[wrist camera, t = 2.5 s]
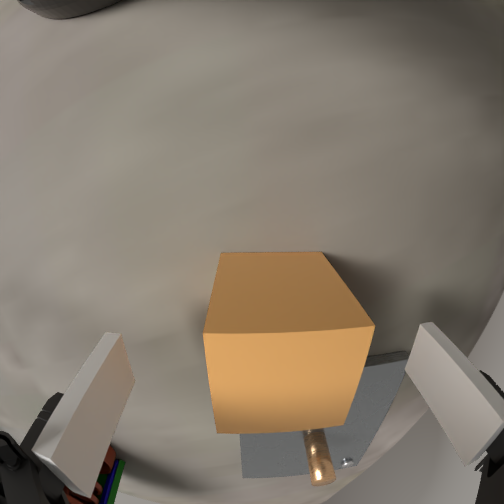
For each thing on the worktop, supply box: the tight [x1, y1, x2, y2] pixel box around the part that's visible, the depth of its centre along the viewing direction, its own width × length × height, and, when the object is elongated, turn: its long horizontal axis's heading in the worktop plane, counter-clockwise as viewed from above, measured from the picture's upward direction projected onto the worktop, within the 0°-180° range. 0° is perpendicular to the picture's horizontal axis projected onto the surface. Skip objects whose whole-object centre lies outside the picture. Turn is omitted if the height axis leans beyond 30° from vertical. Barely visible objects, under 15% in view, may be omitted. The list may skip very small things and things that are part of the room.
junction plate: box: [240, 351, 409, 486], centre depth 17 cm, size 16×12×6 cm
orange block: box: [203, 252, 375, 434], centre depth 12 cm, size 5×5×7 cm
